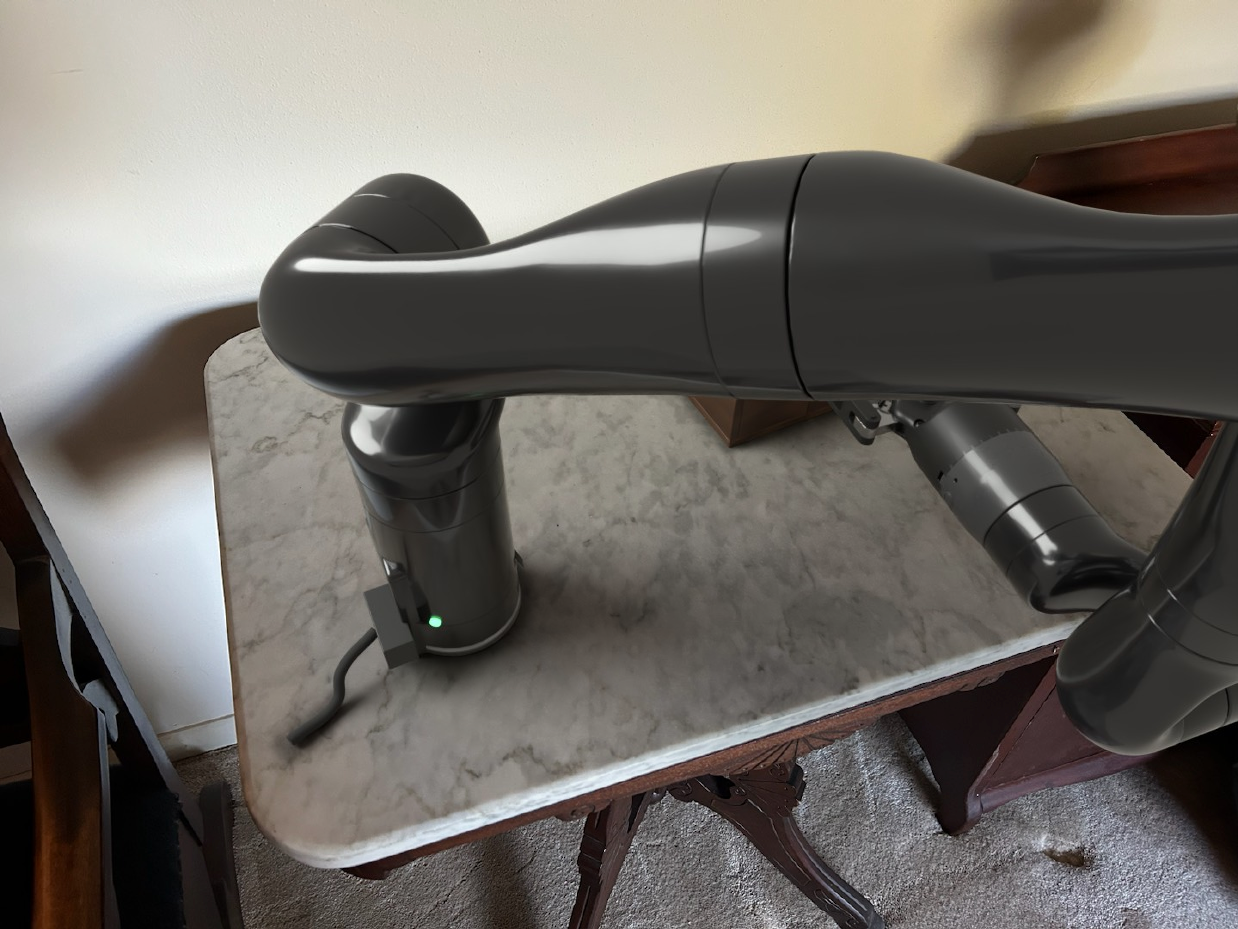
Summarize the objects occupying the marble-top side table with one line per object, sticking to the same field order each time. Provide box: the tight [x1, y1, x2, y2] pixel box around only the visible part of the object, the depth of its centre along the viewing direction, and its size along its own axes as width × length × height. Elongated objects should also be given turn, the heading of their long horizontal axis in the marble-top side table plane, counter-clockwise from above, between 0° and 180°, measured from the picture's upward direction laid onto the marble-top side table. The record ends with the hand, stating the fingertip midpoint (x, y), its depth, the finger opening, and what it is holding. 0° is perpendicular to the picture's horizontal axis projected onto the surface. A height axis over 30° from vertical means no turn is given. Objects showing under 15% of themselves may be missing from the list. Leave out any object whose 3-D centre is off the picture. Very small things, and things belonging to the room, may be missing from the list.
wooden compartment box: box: [686, 396, 834, 448], centre depth 80 cm, size 17×9×6 cm, turn 116°
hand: (880, 334), depth 70 cm, fingers open, 8 cm apart
